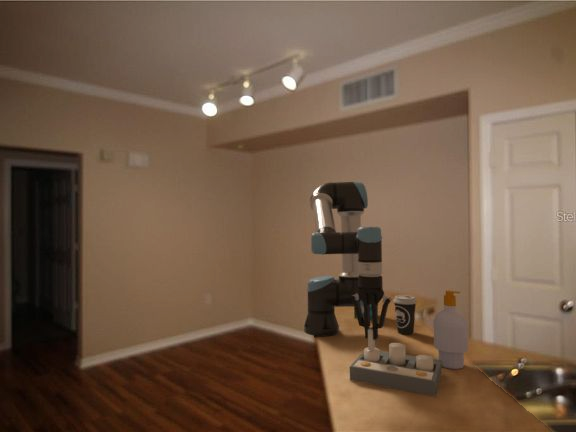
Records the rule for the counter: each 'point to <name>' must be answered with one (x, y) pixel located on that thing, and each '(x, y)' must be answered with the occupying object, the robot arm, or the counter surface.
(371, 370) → the board
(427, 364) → the button
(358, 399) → the counter surface
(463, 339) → the soap bottle
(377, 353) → the button
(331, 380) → the counter surface
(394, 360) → the button
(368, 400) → the counter surface
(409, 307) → the coffee cup
